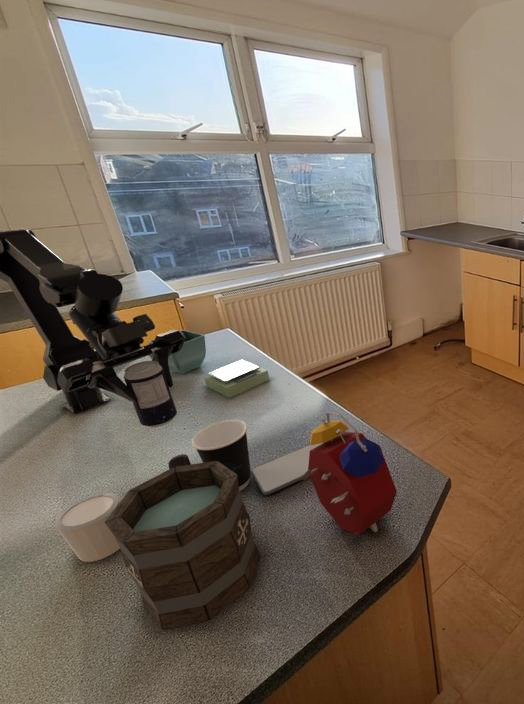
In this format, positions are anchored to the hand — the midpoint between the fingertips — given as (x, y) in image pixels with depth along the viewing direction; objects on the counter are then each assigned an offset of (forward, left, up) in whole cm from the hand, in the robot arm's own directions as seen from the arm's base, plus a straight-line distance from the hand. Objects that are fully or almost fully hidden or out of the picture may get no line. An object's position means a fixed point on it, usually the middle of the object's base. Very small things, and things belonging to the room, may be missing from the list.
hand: (154, 393), depth 81 cm
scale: (-13, +20, -12) cm, 27 cm away
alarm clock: (+45, +5, -12) cm, 47 cm away
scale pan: (-14, +20, -9) cm, 27 cm away
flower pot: (-32, +17, -12) cm, 39 cm away
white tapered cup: (+17, -17, -12) cm, 27 cm away
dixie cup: (+21, 0, -12) cm, 24 cm away
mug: (+33, -11, -12) cm, 36 cm away
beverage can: (-1, 0, -7) cm, 7 cm away
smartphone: (+27, +9, -12) cm, 31 cm away
